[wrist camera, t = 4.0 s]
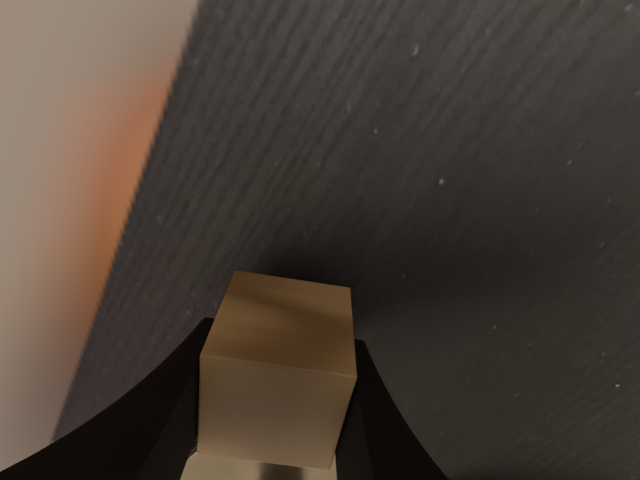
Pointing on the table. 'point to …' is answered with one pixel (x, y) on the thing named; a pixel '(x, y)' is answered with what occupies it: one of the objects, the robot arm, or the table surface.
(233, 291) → the block
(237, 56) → the table surface
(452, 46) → the table surface
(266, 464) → the lid
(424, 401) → the table surface
